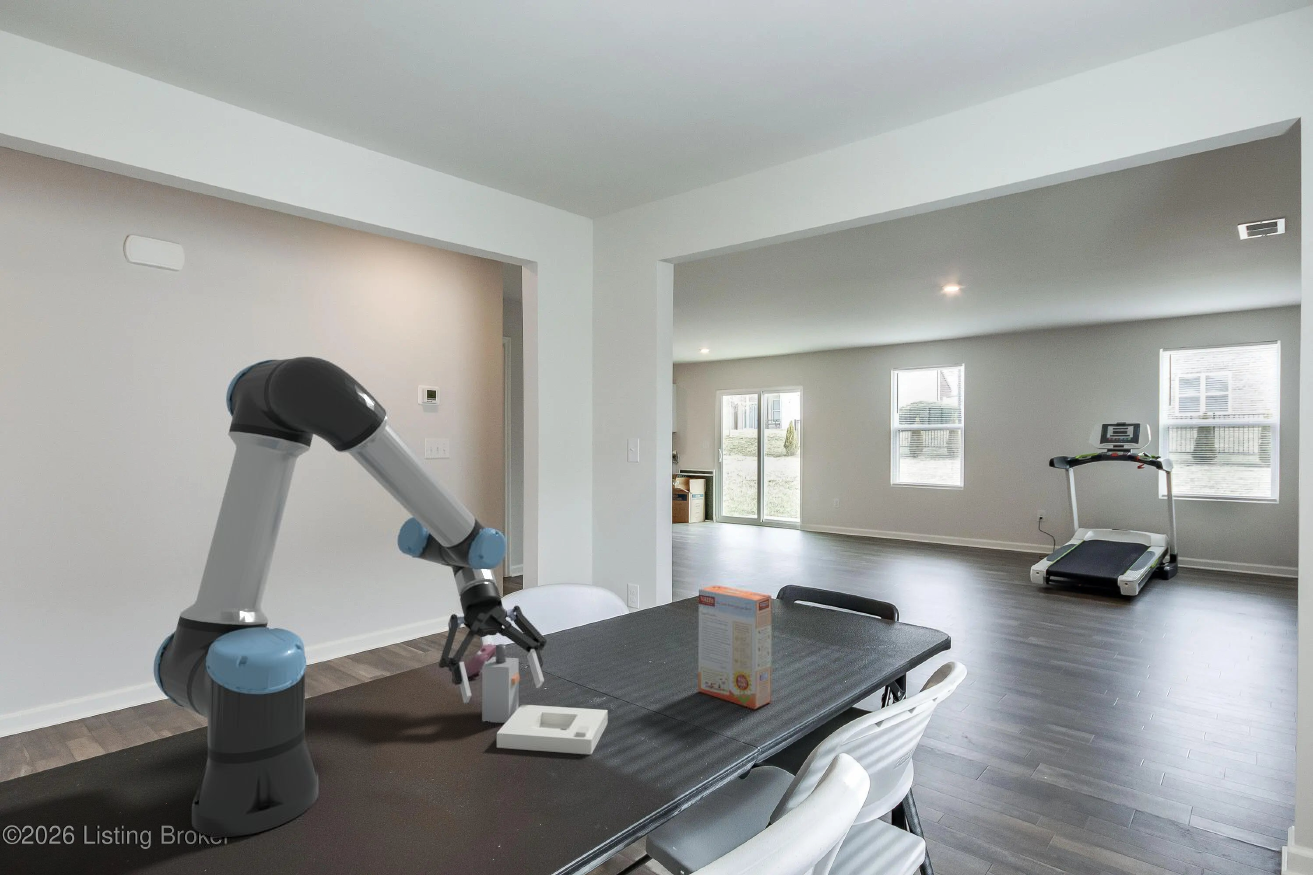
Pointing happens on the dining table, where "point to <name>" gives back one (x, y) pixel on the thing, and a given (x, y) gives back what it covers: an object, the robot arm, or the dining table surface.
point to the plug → (500, 687)
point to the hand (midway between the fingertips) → (505, 691)
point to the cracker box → (735, 645)
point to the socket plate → (553, 729)
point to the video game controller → (480, 659)
